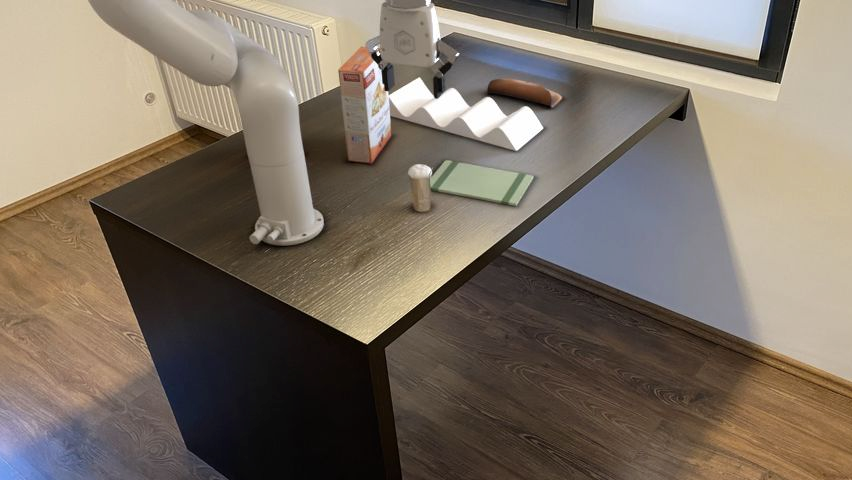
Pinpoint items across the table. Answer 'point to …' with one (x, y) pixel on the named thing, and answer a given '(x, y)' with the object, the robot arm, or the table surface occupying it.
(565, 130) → the table surface
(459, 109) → the white wavy rack
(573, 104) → the table surface
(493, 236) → the table surface
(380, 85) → the cracker box
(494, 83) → the sunglasses case
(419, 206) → the milkshake
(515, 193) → the towel
